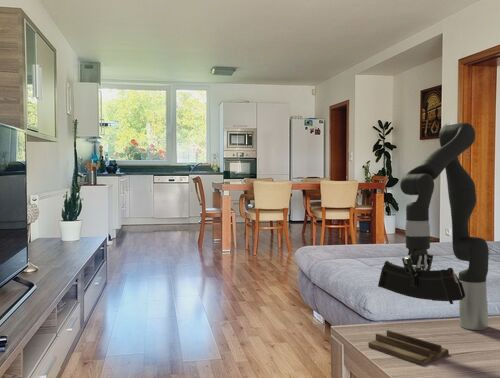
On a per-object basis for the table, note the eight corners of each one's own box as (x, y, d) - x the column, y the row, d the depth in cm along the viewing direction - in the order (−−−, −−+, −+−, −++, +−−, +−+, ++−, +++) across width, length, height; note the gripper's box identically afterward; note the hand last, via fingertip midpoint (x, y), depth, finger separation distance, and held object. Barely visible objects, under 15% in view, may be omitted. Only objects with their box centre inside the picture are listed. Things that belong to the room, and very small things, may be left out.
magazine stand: (395, 337, 160) (395, 327, 160) (448, 354, 144) (448, 343, 144) (368, 346, 152) (368, 336, 152) (421, 365, 136) (420, 353, 136)
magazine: (371, 263, 165) (446, 247, 142) (377, 263, 167) (452, 246, 144) (383, 312, 161) (462, 303, 138) (389, 311, 163) (468, 301, 140)
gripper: (420, 232, 159) (421, 282, 159) (394, 234, 151) (395, 287, 151) (440, 233, 153) (441, 285, 153) (414, 236, 145) (414, 291, 145)
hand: (418, 286), depth 152 cm, fingers closed on magazine, 3 cm apart
